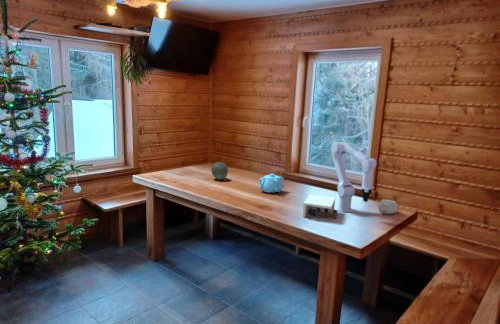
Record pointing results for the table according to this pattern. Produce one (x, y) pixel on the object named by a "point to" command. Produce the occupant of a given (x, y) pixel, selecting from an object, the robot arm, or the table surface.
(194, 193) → the table surface
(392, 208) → the grey rounded lump
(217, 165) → the cantaloupe
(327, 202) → the white shelf
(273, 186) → the decorative pot
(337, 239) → the table surface
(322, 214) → the walnut tray
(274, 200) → the table surface
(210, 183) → the table surface
